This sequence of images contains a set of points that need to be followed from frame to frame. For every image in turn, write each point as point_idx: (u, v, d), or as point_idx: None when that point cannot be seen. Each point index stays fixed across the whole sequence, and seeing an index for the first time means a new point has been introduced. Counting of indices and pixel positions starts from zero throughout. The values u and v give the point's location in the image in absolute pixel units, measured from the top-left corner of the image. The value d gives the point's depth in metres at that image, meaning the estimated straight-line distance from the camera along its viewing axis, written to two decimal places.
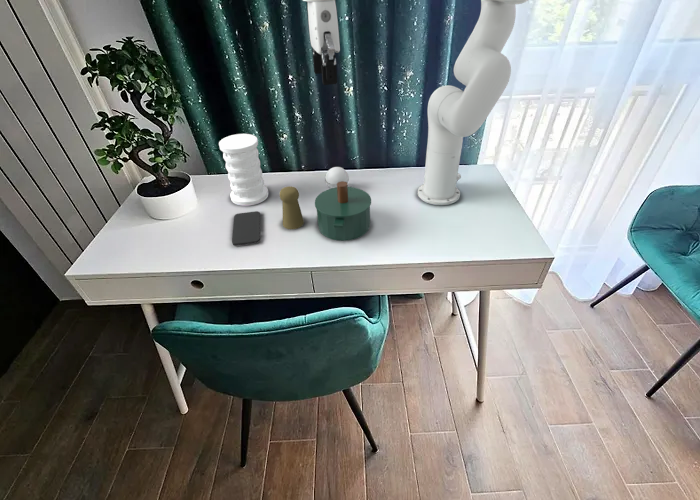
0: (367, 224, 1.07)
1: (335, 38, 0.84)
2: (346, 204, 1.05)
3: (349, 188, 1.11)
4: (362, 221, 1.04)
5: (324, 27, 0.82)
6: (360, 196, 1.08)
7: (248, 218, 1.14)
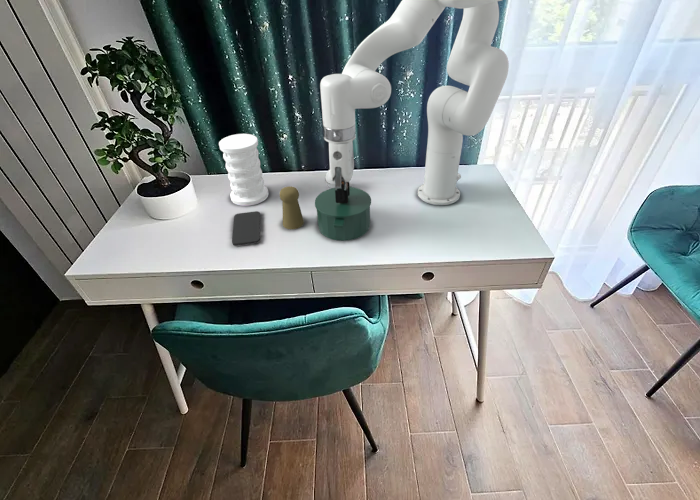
0: (367, 224, 1.07)
1: (345, 172, 0.95)
2: (346, 204, 1.05)
3: None
4: (362, 221, 1.04)
5: (335, 163, 0.94)
6: (360, 196, 1.08)
7: (248, 218, 1.14)
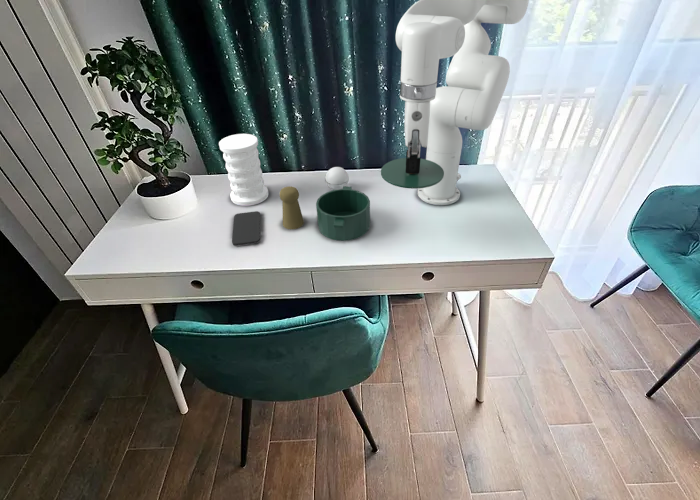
0: (367, 224, 1.07)
1: (423, 136, 0.85)
2: (417, 175, 0.95)
3: None
4: (362, 221, 1.04)
5: (414, 125, 0.84)
6: (430, 167, 0.98)
7: (248, 218, 1.14)
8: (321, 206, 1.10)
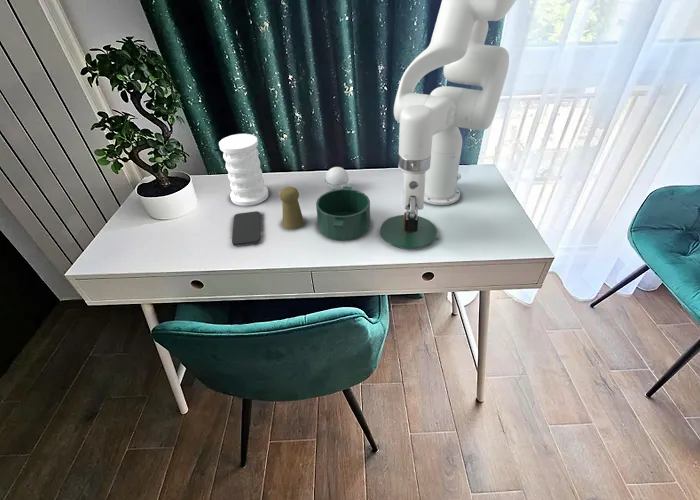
0: (367, 224, 1.07)
1: (420, 201, 0.96)
2: (412, 234, 1.05)
3: None
4: (362, 221, 1.04)
5: (411, 193, 0.95)
6: (424, 225, 1.08)
7: (248, 218, 1.14)
8: (321, 206, 1.10)
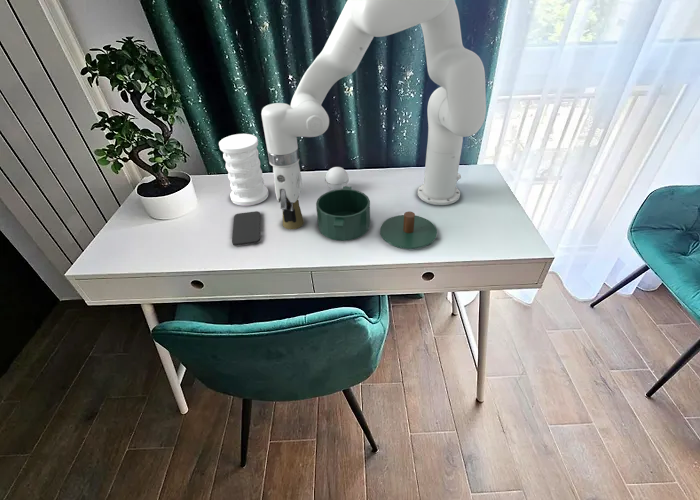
0: (367, 224, 1.07)
1: (289, 194, 1.01)
2: (412, 234, 1.05)
3: None
4: (362, 221, 1.04)
5: (280, 186, 1.00)
6: (424, 225, 1.08)
7: (248, 218, 1.14)
8: (321, 206, 1.10)
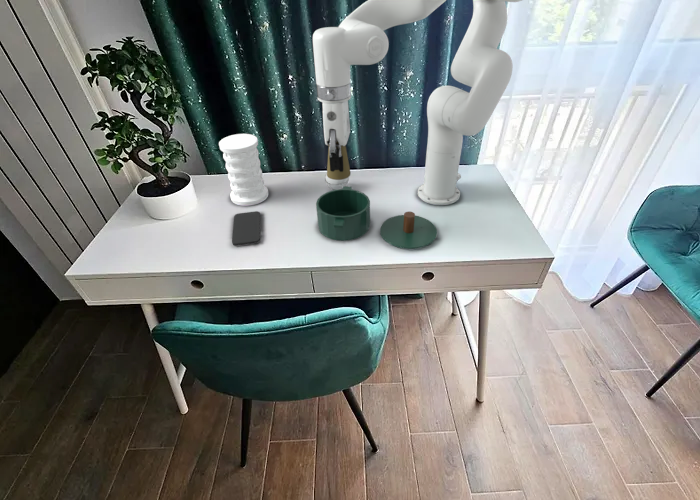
0: (367, 224, 1.07)
1: (340, 135, 0.90)
2: (412, 234, 1.05)
3: None
4: (362, 221, 1.04)
5: (330, 125, 0.89)
6: (424, 225, 1.08)
7: (248, 218, 1.14)
8: (321, 206, 1.10)
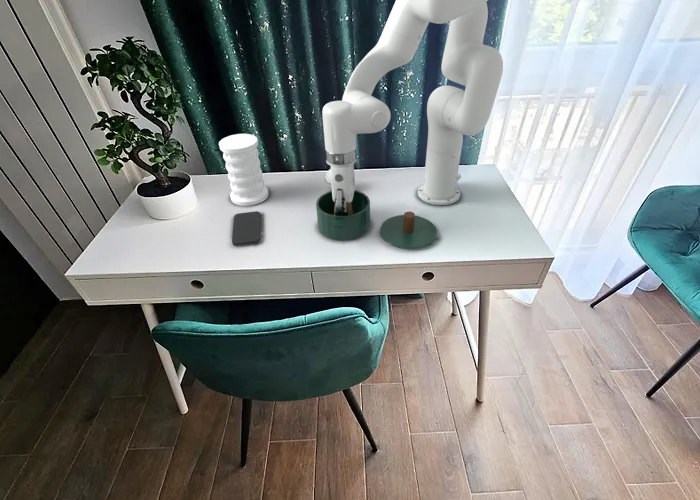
0: (367, 224, 1.07)
1: (346, 194, 0.99)
2: (412, 234, 1.05)
3: None
4: (362, 221, 1.04)
5: (337, 185, 0.98)
6: (424, 225, 1.08)
7: (248, 218, 1.14)
8: (321, 206, 1.10)
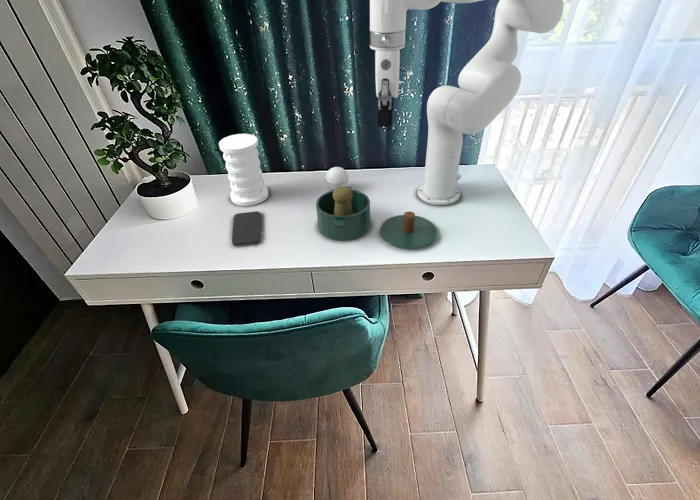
0: (367, 224, 1.07)
1: (393, 85, 0.87)
2: (412, 234, 1.05)
3: None
4: (362, 221, 1.04)
5: (383, 74, 0.86)
6: (424, 225, 1.08)
7: (248, 218, 1.14)
8: (321, 206, 1.10)
